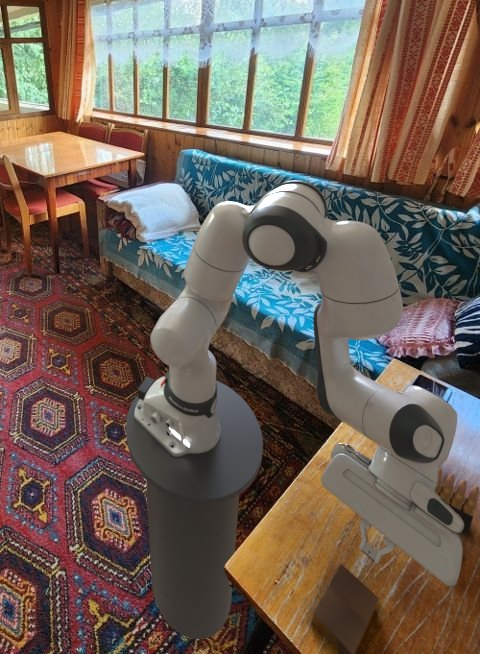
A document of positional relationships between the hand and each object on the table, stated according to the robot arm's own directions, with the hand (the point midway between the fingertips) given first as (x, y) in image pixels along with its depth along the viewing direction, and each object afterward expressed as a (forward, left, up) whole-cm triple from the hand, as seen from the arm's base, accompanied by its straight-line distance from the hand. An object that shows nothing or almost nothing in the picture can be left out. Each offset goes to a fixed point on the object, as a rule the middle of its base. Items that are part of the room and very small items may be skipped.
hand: (368, 556), depth 63 cm
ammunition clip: (+10, +20, -7) cm, 24 cm away
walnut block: (-1, -2, -5) cm, 6 cm away
